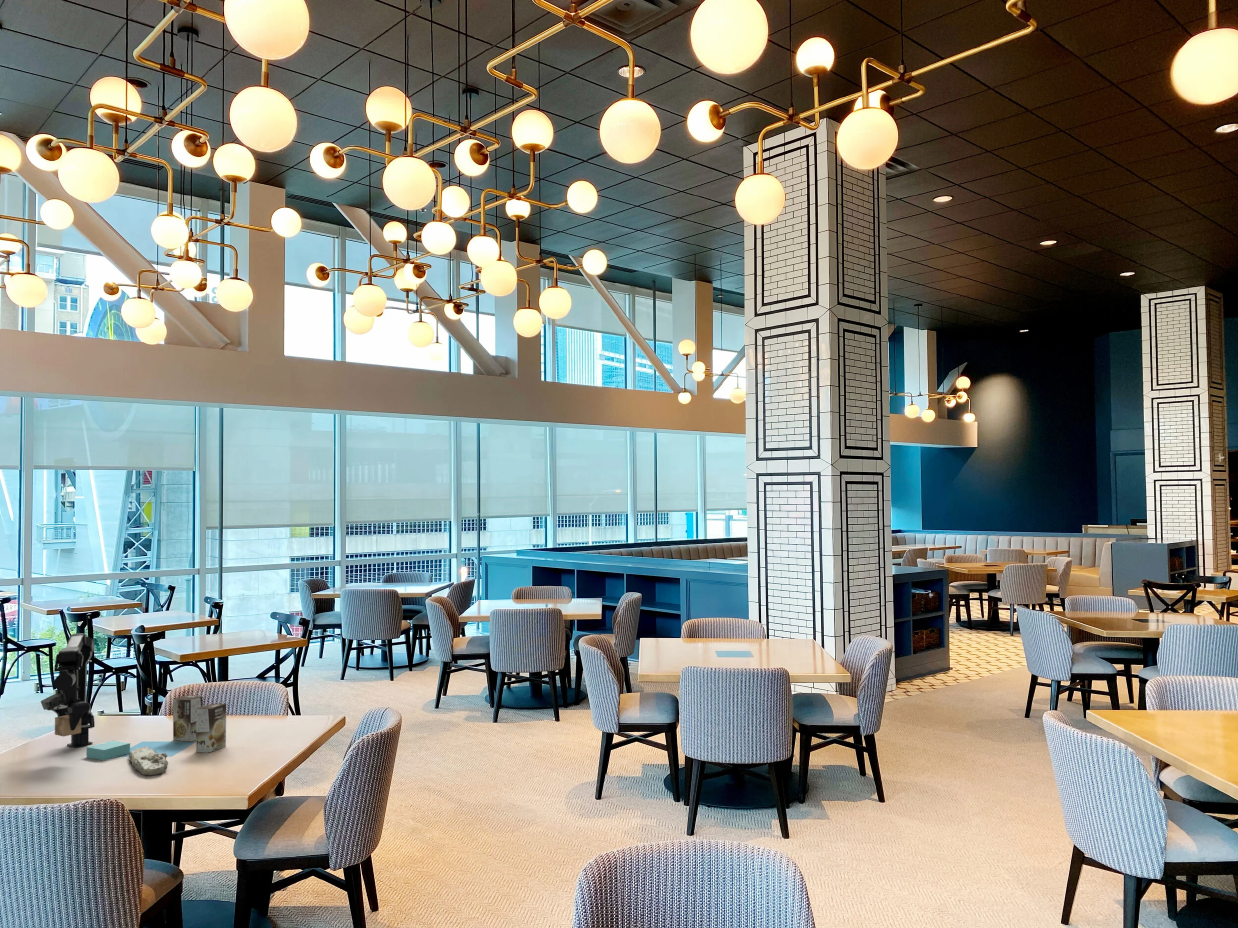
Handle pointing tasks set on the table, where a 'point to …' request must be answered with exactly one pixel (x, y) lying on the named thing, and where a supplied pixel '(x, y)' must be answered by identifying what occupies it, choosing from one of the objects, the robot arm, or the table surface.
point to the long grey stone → (148, 761)
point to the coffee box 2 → (210, 727)
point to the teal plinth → (108, 750)
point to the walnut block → (65, 726)
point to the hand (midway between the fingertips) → (68, 729)
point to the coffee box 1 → (185, 717)
